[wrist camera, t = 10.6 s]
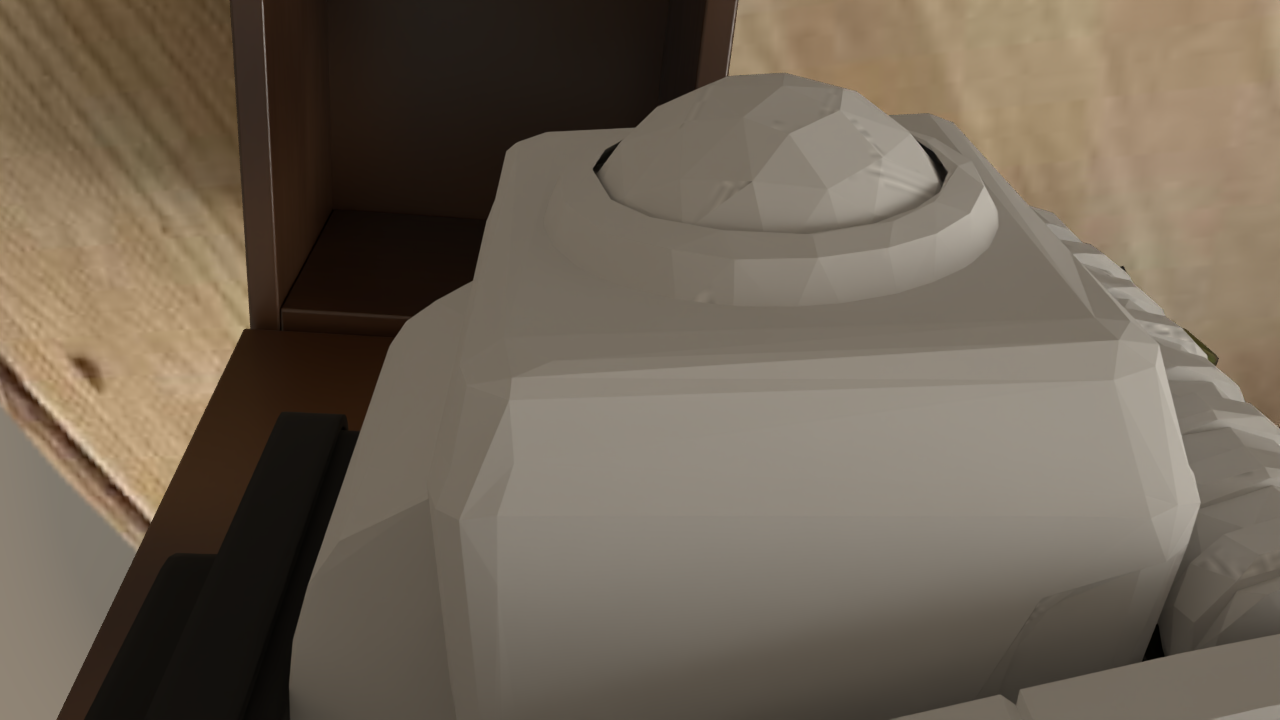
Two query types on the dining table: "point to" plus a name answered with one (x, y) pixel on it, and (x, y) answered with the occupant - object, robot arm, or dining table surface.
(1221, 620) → the grey knobbed block
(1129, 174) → the dining table surface
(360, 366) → the lid
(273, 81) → the chest
